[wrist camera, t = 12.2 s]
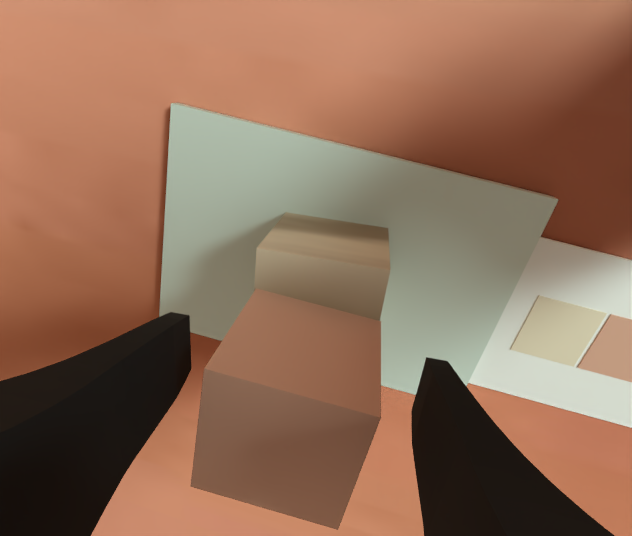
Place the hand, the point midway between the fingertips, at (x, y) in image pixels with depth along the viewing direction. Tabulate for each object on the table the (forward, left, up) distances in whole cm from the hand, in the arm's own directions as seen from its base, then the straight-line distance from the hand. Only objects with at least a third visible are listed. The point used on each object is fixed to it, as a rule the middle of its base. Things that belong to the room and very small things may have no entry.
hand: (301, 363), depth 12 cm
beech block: (0, 0, -7) cm, 7 cm away
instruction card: (-3, +12, -8) cm, 14 cm away
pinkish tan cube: (+2, 0, -2) cm, 3 cm away
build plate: (0, 0, -8) cm, 8 cm away
